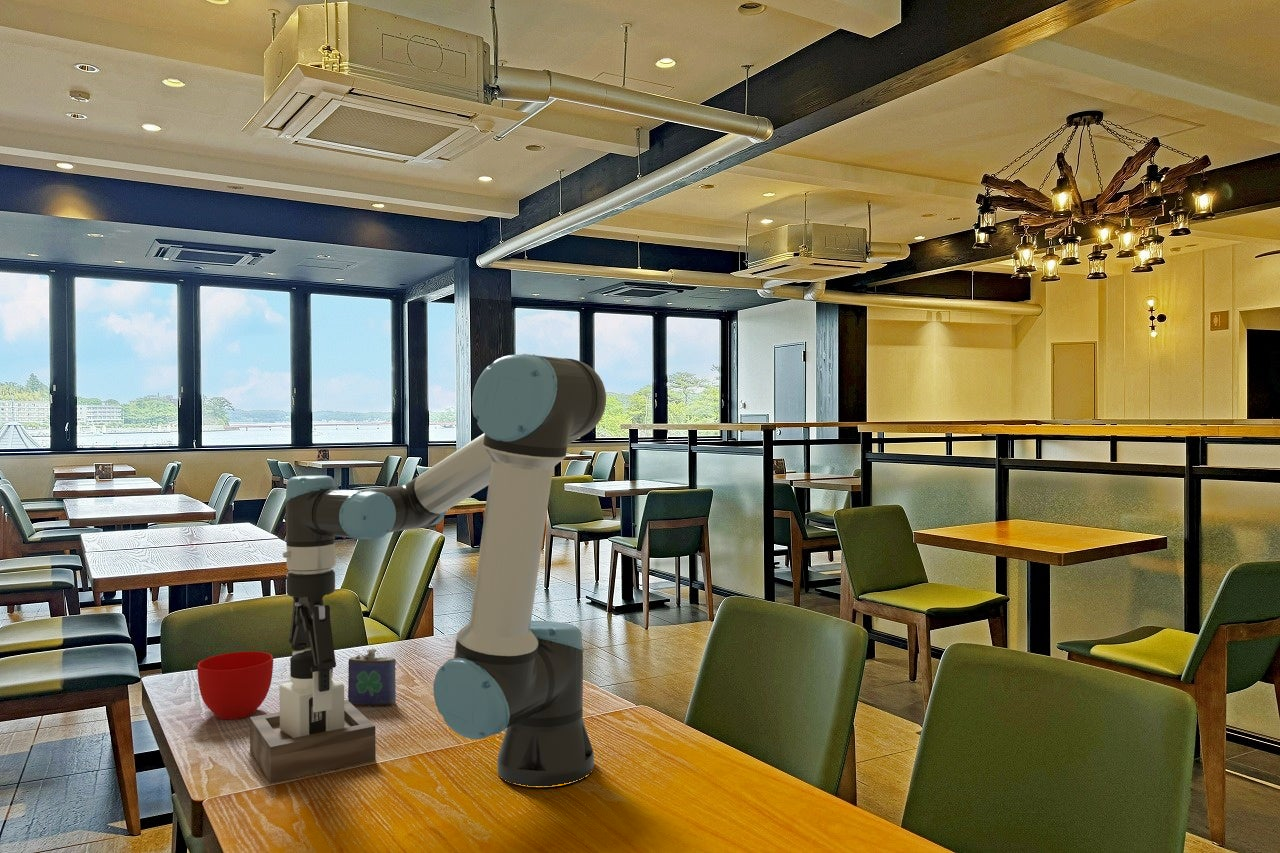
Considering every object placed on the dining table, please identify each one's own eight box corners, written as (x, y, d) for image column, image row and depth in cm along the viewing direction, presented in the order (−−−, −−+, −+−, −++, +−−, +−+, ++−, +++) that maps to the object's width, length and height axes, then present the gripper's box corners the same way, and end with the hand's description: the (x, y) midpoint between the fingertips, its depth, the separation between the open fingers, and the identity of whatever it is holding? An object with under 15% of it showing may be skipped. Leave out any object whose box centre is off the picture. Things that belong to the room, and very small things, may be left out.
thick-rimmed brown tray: (375, 759, 142) (375, 726, 142) (270, 783, 133) (270, 747, 133) (347, 730, 156) (347, 699, 156) (250, 750, 147) (249, 717, 147)
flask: (397, 702, 171) (397, 647, 171) (392, 707, 168) (392, 651, 168) (350, 701, 172) (350, 647, 172) (345, 706, 169) (344, 651, 169)
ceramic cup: (250, 693, 177) (249, 643, 177) (284, 713, 165) (284, 660, 165) (180, 708, 168) (180, 656, 168) (211, 731, 156) (211, 674, 156)
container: (345, 730, 145) (344, 651, 144) (299, 742, 139) (298, 661, 139) (324, 719, 150) (323, 643, 150) (278, 730, 145) (278, 651, 144)
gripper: (270, 561, 152) (271, 683, 153) (305, 584, 132) (306, 725, 132) (315, 557, 157) (315, 676, 157) (356, 579, 136) (356, 715, 136)
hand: (311, 699), depth 144 cm, fingers open, 13 cm apart
